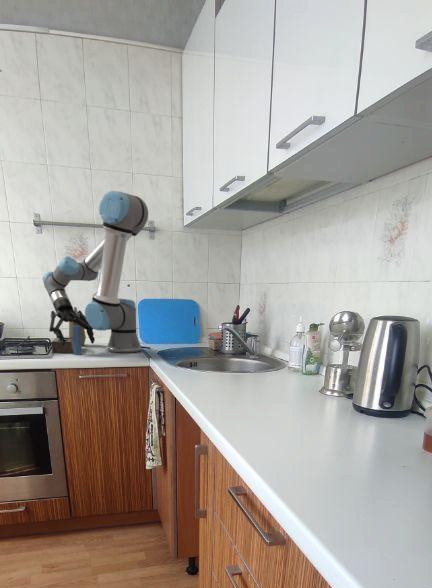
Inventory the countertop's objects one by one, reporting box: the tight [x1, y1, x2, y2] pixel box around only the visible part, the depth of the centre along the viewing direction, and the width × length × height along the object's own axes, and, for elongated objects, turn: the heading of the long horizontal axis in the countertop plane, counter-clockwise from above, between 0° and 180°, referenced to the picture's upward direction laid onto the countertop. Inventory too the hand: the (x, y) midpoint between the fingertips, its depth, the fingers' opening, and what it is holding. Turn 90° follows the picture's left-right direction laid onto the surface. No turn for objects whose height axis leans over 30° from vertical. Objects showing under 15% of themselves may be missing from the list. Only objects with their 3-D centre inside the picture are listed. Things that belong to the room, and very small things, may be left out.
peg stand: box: [50, 336, 74, 354], centre depth 214 cm, size 9×15×5 cm, turn 9°
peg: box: [72, 326, 83, 356], centre depth 204 cm, size 3×3×12 cm
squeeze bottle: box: [68, 306, 87, 347], centre depth 227 cm, size 8×8×18 cm
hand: (78, 342), depth 203 cm, fingers open, 13 cm apart
